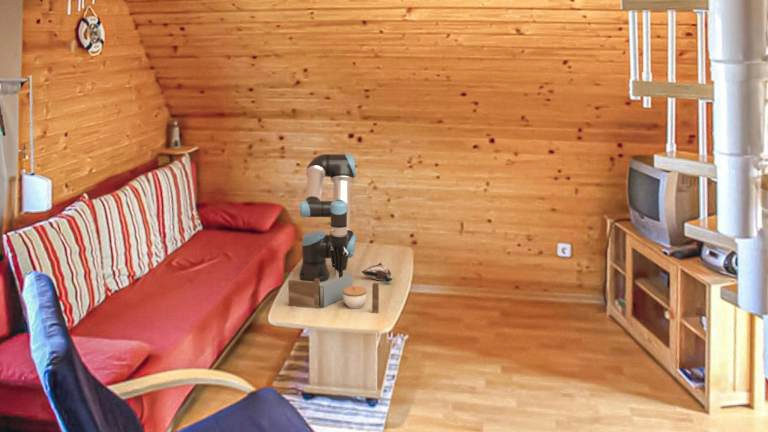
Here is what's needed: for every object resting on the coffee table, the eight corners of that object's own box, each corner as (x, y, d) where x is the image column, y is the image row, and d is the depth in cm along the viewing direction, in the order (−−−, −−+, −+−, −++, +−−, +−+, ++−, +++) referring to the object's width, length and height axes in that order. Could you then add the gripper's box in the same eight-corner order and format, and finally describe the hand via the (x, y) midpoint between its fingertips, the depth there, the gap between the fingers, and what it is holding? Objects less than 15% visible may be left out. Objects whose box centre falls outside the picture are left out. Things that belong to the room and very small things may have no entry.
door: (319, 307, 319) (318, 286, 316) (349, 293, 336) (349, 273, 333) (321, 308, 318) (321, 287, 315) (352, 294, 335) (351, 274, 332)
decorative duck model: (397, 273, 346) (367, 274, 342) (395, 287, 348) (366, 288, 345) (389, 261, 360) (360, 262, 356) (388, 274, 362) (359, 275, 358)
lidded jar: (345, 311, 315) (345, 291, 313) (340, 302, 325) (340, 283, 323) (369, 309, 318) (369, 289, 316) (363, 300, 328) (363, 281, 326)
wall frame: (290, 304, 323) (289, 276, 319) (378, 311, 316) (378, 282, 312) (288, 306, 321) (288, 278, 317) (377, 313, 314) (378, 284, 310)
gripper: (323, 233, 327) (324, 281, 333) (341, 239, 318) (341, 288, 324) (336, 230, 332) (336, 278, 338) (354, 236, 323) (354, 285, 329)
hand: (339, 283), depth 331 cm, fingers closed
